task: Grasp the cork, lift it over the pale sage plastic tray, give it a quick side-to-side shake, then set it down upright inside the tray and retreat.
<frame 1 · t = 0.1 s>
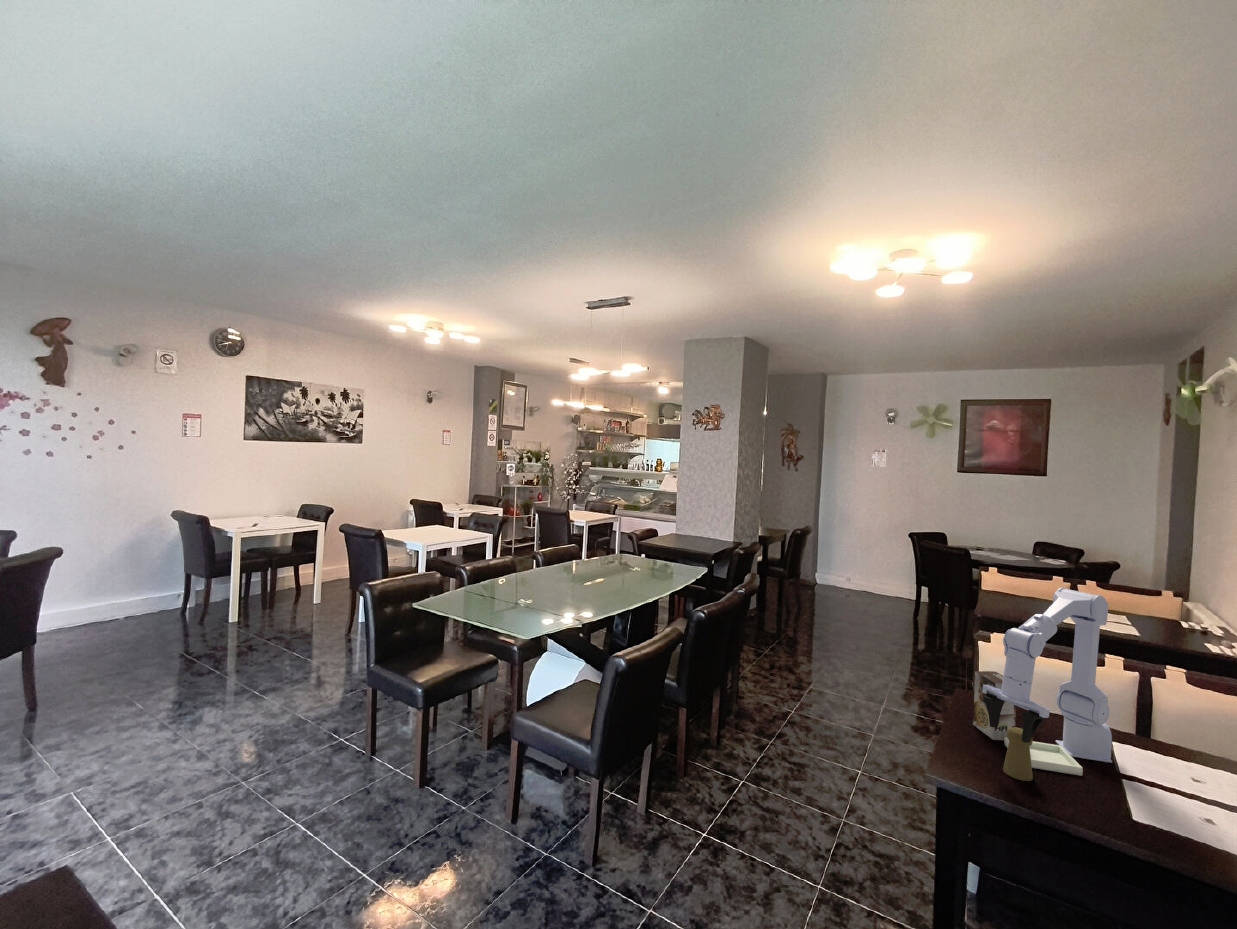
hand: (1009, 734, 134), 11 cm above the table, tool pointing down, fingers open, 7 cm apart
tray: (1041, 759, 143), on the table
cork: (1017, 774, 136), on the table
coffee box: (993, 733, 157), on the table
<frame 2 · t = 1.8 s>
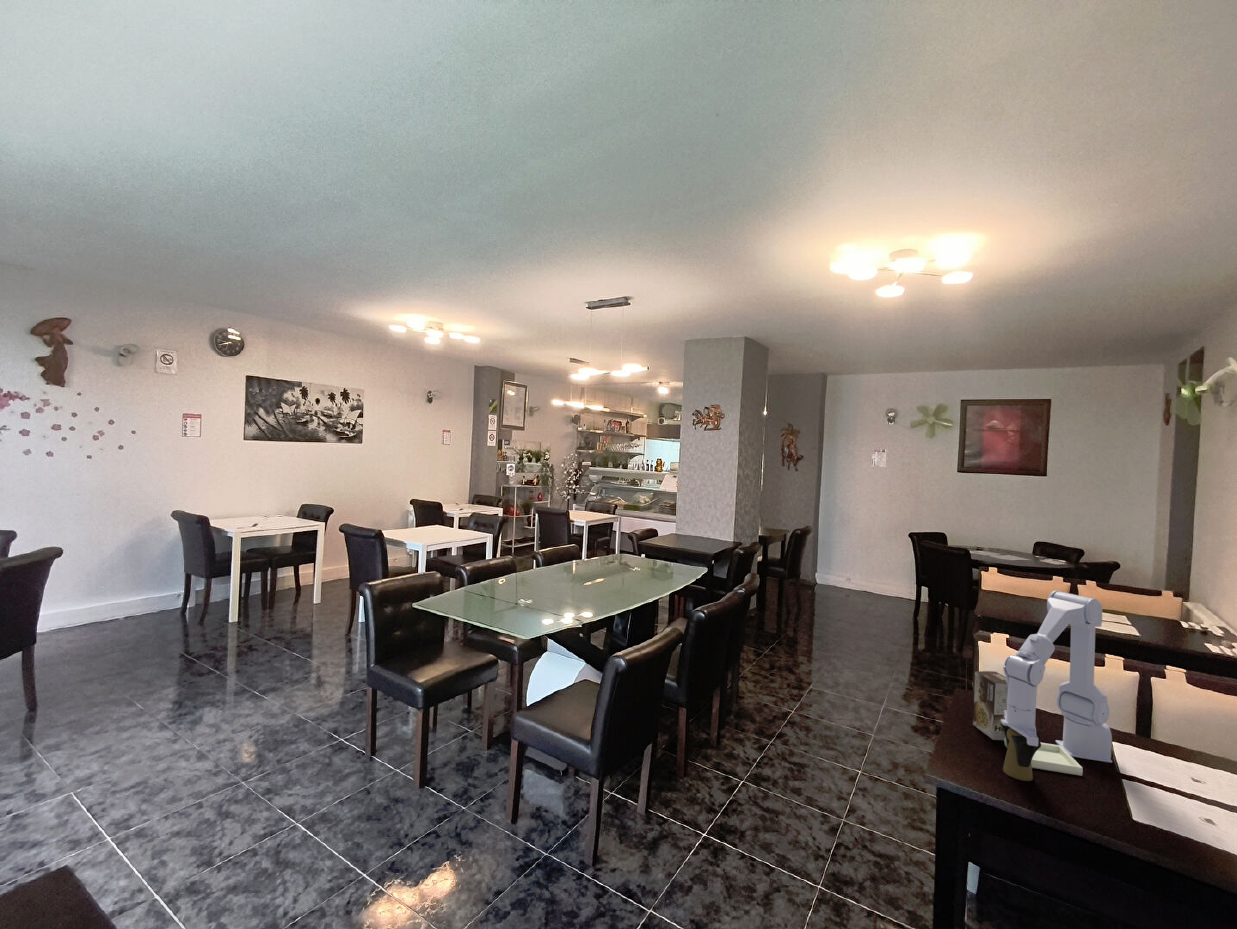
hand: (1018, 760, 136), 3 cm above the table, tool pointing down, fingers closed on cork, 5 cm apart
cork: (1017, 774, 136), on the table, touching gripper
everything else where it was.
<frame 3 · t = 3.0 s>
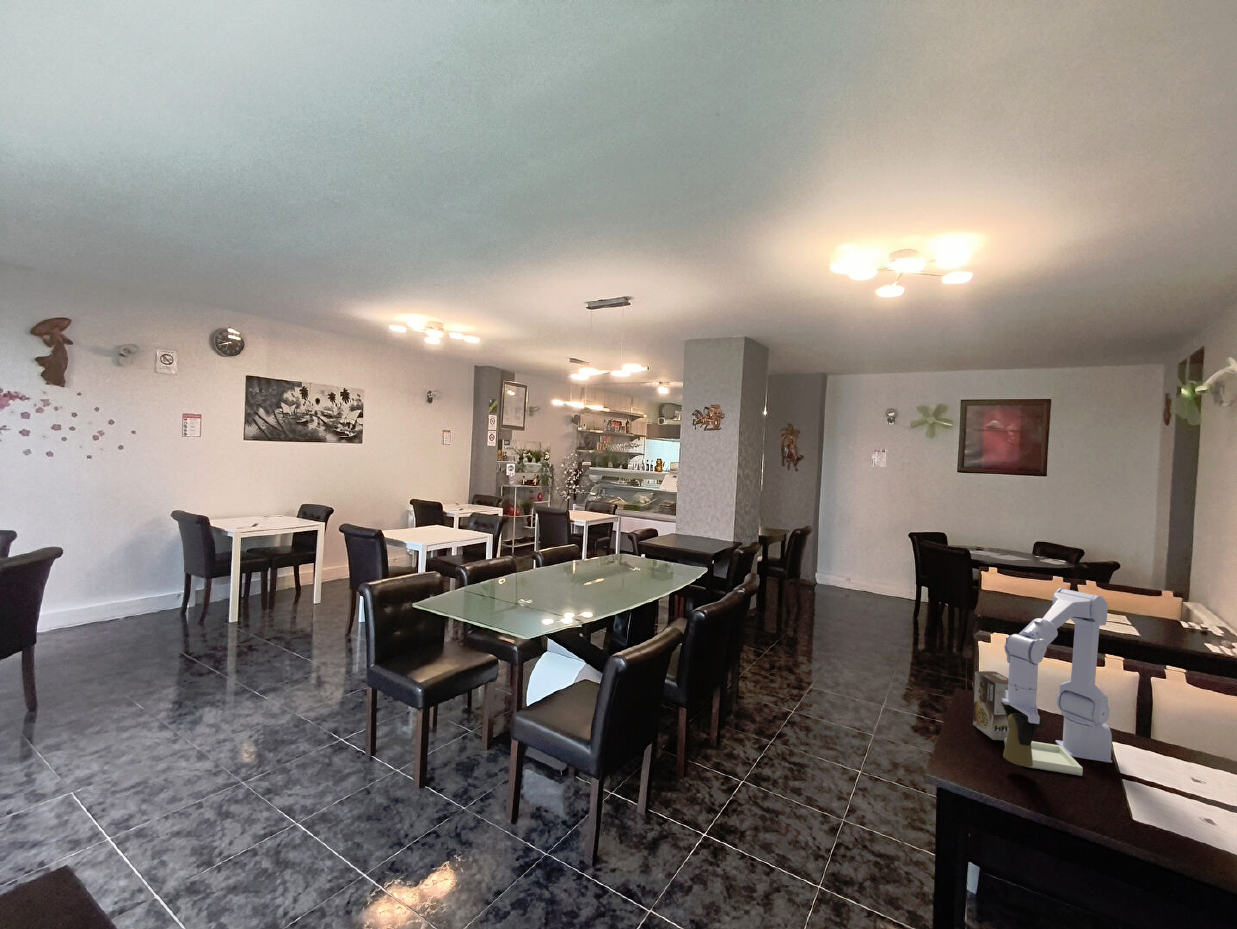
hand: (1019, 738, 136), 9 cm above the table, tool pointing down, fingers closed on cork, 5 cm apart
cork: (1017, 760, 136), point 3 cm above the table, touching gripper
everything else where it was.
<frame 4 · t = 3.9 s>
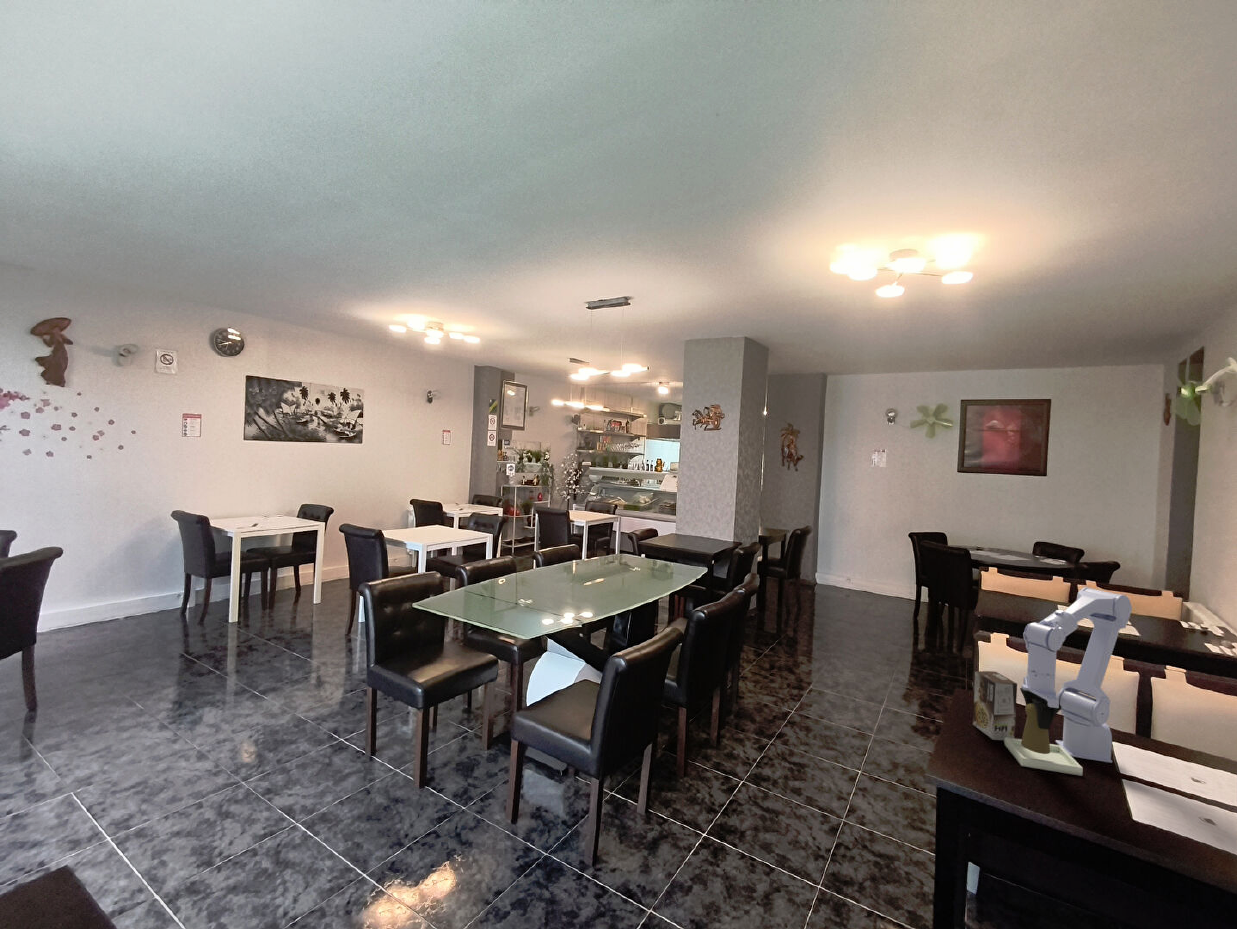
hand: (1038, 723, 141), 10 cm above the table, tool pointing down, fingers closed on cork, 5 cm apart
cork: (1035, 748, 141), point 4 cm above the table, touching gripper
everything else where it was.
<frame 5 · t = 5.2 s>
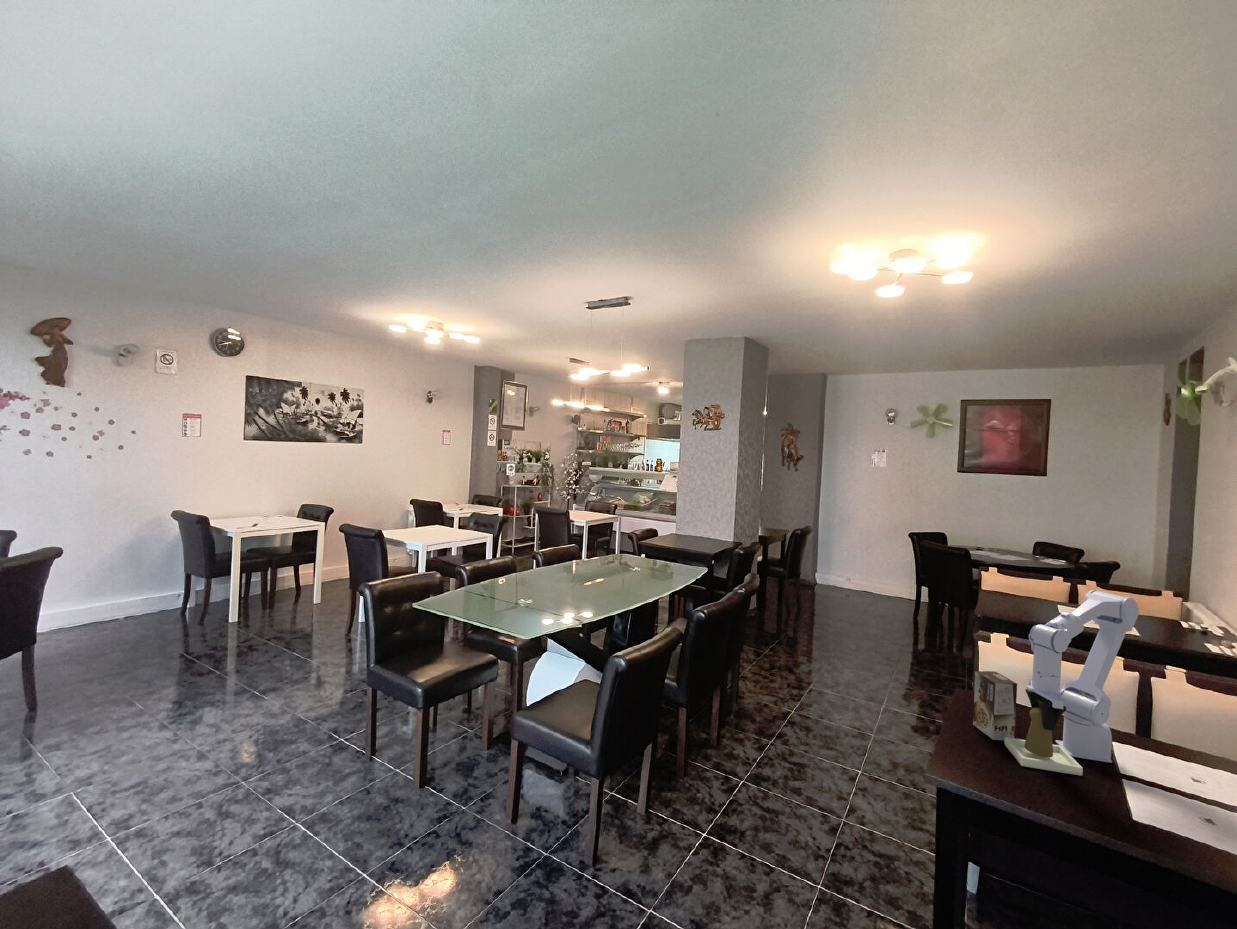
hand: (1043, 724, 142), 9 cm above the table, tool pointing down, fingers closed on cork, 5 cm apart
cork: (1038, 751, 143), point 2 cm above the table, touching gripper
everything else where it was.
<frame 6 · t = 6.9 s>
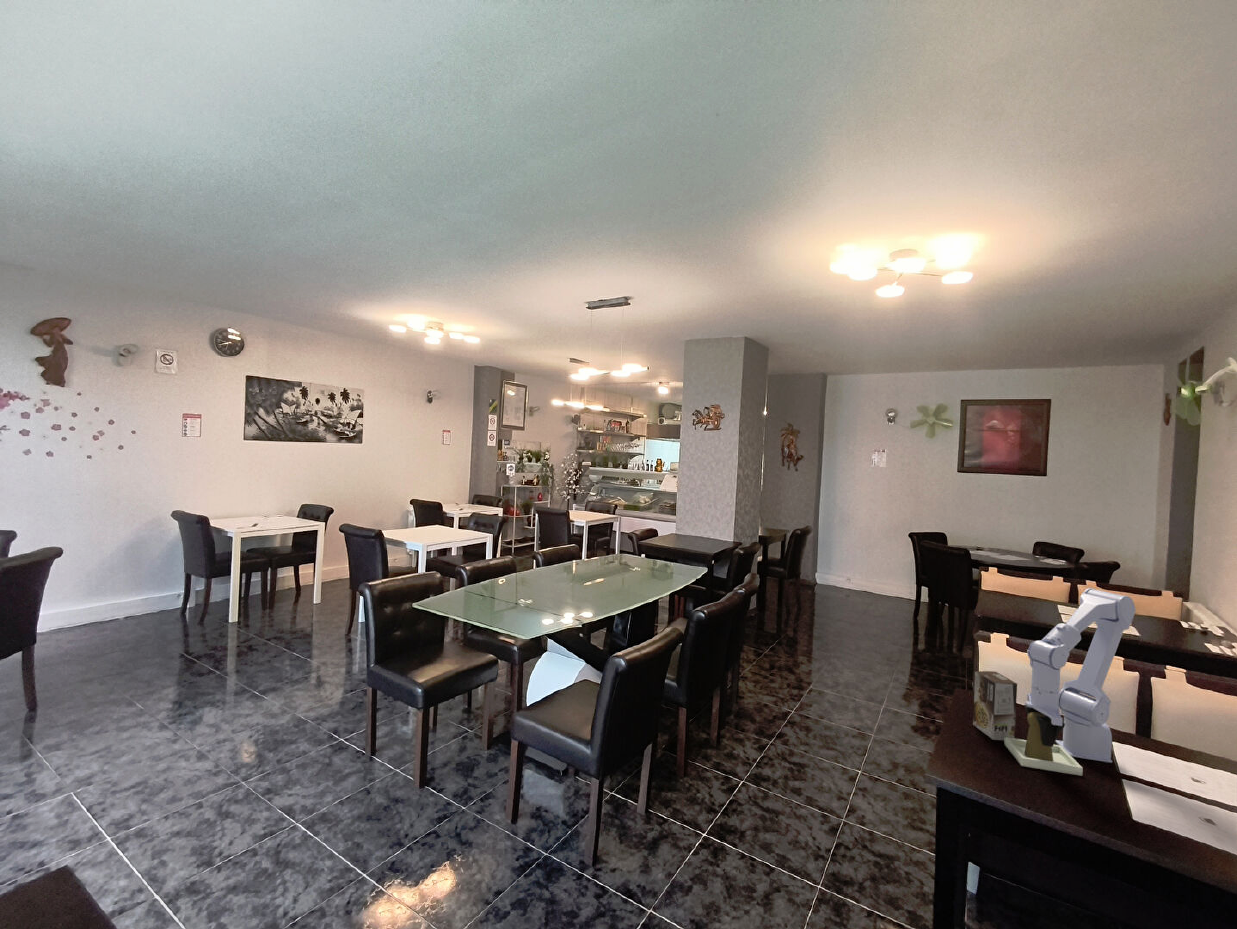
hand: (1042, 740, 143), 5 cm above the table, tool pointing down, fingers closed on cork, 5 cm apart
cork: (1038, 757, 143), point 1 cm above the table, touching gripper, tray
everything else where it was.
when the fingers open (5 cm above the table, at t = 7.4 s): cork stays where it is, resting on tray.
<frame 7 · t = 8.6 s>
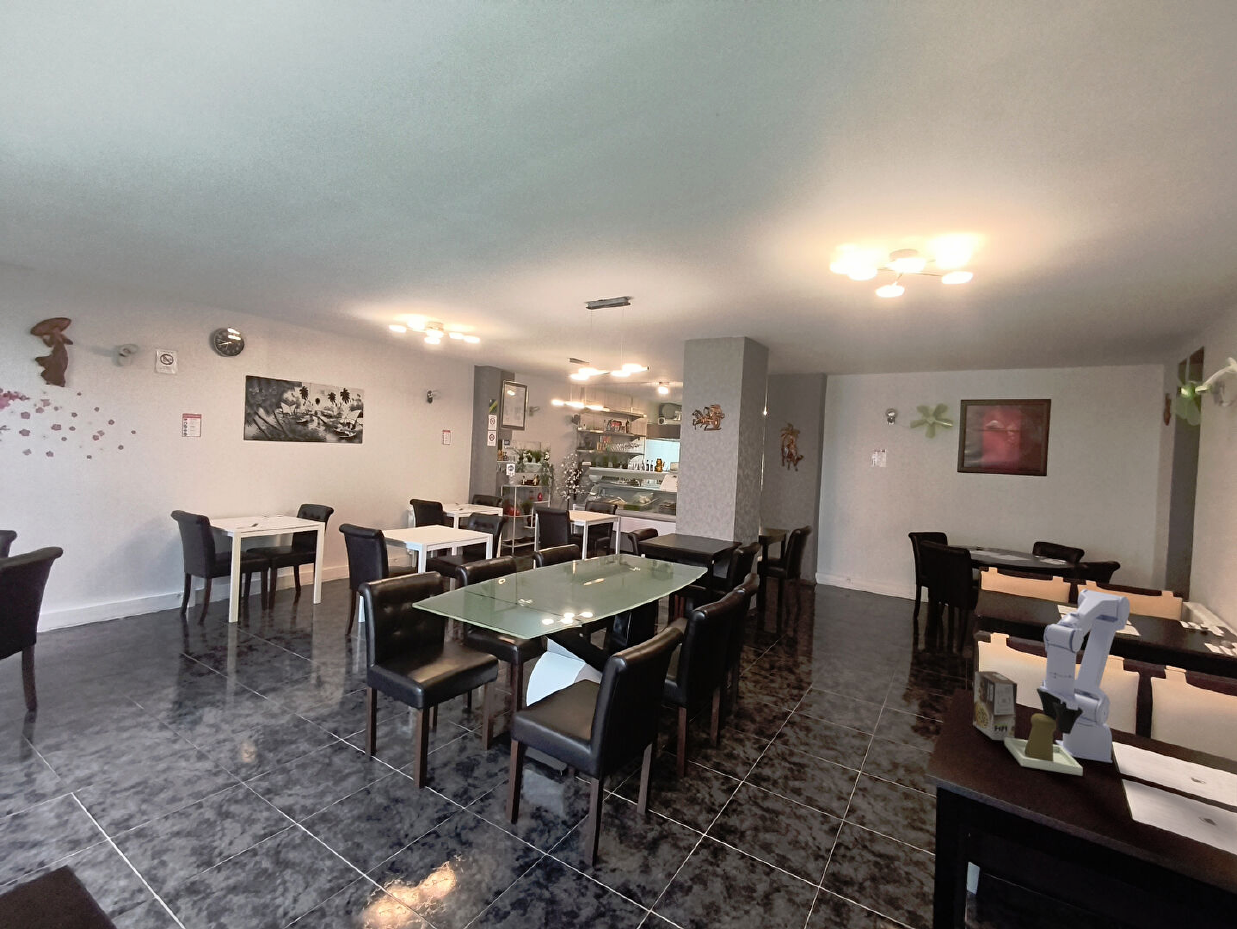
hand: (1056, 725, 140), 10 cm above the table, tool pointing down, fingers open, 7 cm apart
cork: (1038, 757, 143), point 1 cm above the table, touching gripper, tray
everything else where it was.
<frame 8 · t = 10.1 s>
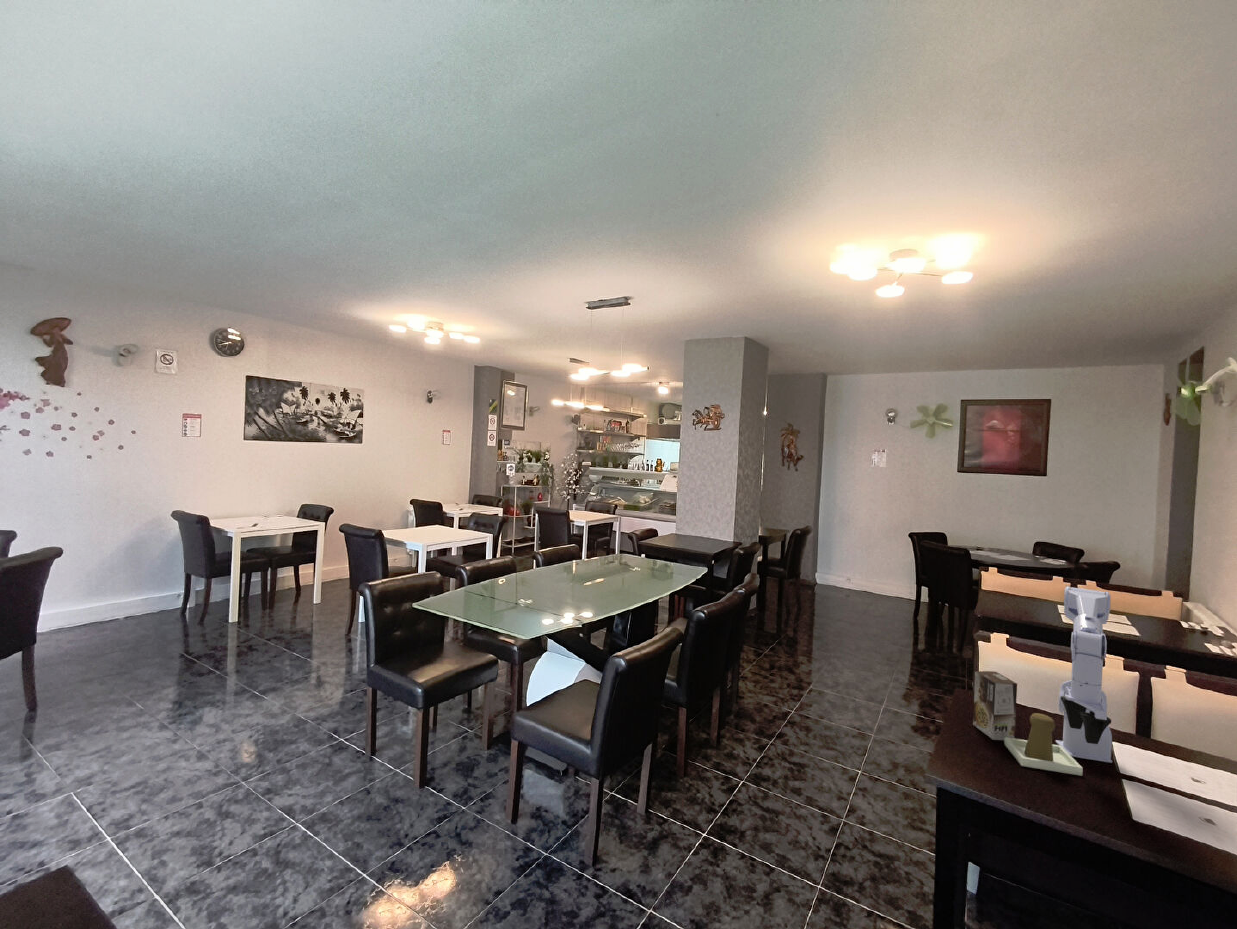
hand: (1083, 735, 135), 10 cm above the table, tool pointing down, fingers open, 7 cm apart
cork: (1038, 757, 143), point 1 cm above the table, touching tray
everything else where it was.
at the end: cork 0.9 cm off-centre on the tray, point 0.4 cm above the tray's base; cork tilted 1°; the gripper is holding nothing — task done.
